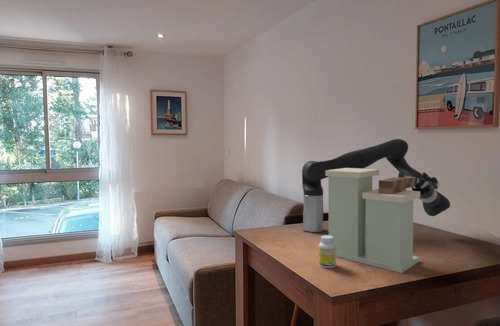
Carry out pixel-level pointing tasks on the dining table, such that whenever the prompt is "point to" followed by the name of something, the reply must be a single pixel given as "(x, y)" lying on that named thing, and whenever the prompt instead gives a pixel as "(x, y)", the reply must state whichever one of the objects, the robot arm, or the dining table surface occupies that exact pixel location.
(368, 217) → the step stand
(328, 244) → the supplement bottle
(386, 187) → the walnut leg
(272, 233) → the dining table surface
